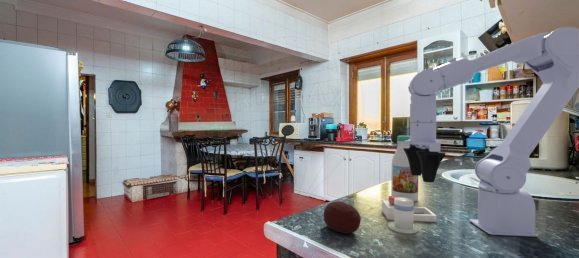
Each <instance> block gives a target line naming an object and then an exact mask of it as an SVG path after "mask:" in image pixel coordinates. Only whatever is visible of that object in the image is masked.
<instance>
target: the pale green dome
mask: <svg viewBox="0 0 579 258" xmlns="http://www.w3.org/2000/svg"><path fill="white" fill-rule="evenodd" d="M387 227H388V229H389V230H391V231H393V232H396V233H400V234H404V235H405V234H406V235H413V234H416V233H419V229H420V228H419V227H418V226H417V224H414V223H413V229H411V230H404V229H399V228H397V227H395V226H394V220H391V221H389V222H388V223H387Z"/></svg>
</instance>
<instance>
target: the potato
mask: <svg viewBox="0 0 579 258" xmlns="http://www.w3.org/2000/svg"><path fill="white" fill-rule="evenodd" d="M323 220H324V224H326V226H327V228H329V229H331V230H333V231H335V232H338V233H342V234H352V233H354V232H356V231H358V230H359V227H360V226H361V220H362V219H361V215H360V212H359V211H358V210H357V209H356V208H355V207H354V206H353V205H351V204H349V203H346V202H344V201H340V200H339V201H332V202H330V203H327V205H326V206H325V208H324V211H323Z"/></svg>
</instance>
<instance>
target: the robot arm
mask: <svg viewBox="0 0 579 258" xmlns="http://www.w3.org/2000/svg"><path fill="white" fill-rule="evenodd" d="M510 62H512V63H515V64H517V65H518V64H519V65H522V64H525V66H527V67H529V68H528V69H530V70H531V71H532V72H534V74H536V75H537V76H538V77H539V79H540V81H541V83H542V84H541V85H540V87H539V89H538V90H537V92H536V93H535V95H534V96H533V97H532V99H531V100H530V101H529V103H528V104H527V106H526V107H525V109H524V110H523V112H522V113H521V115H520V116H519V117H518V119H517V120H516V122H515V123H514V125H513V126H512V128H511V129H510V130H509V132H508V133H507V134H506V136H505V137H504V139H503V141H502V142H501V143H500V144H499V145H497V147H494V148H493V149H491V150H490V151H489V153H488V155H486V156H485V157H484V158H481V159H479V160H478V161H477V162H476V164H475V167H474V174H475V176H476V178H478V180H479V183H478V185H477V187H478V189H477V191H478V193H477V219H475V218H474V219H473V218H470V219H469V220H468V221H469V222H470V223H472V224H473V225H475V226H476V227H478V228H479V229H481V230H483V231H484V232H486V233H487V234H489V235H491V236H492V235H494V236H511V237H512V236H514V237H515V236H516V237H539V234H538V233H537V232H536V203H535V200H534V198H533V196H532V195H531V194H530V192H527V191H525V190H521V189H522V188H523V187H524V186H525V184H526V181H527V174H528V171H529V170H530V168H531V167H532V163H531V159H530V155H531V154H532V153H533V151H535V148H536V147H537V146H538V145H539V143H540V142H541V141H542V139H543V138H544V136H545V135H546V133H547V132H548V131H549V129H550V128H551V126H552V125H553V124H554V123H555V121H556V120H557V118H558V117H559V116H560V114H561V113H562V112H563V110H564V109H565V108H566V106H567V105H568V103H569V102H570V100H571V99H572V98H573V97H574V94H575V93H576V92H577V91H578V89H579V28H577V27H573V26H562V27H559V28H556V29H554V30H553V31H551V32H550V33H549V31H545V32H541V33H537V34H535V35H532V36H528V37H526V38H523V39H520V40H517V41H515V42H512V43H509V44H508V45H505V46H503V47H500V48H498V49H496V50H493V51H490V52H488V53H485V54H483V55H481V56H479V57H476V58H473V59H468V58H465V57H460V58H458V59H457V57H453V58H450V59H449V60H448V62H447V63H444V64H441V65H438V66H437V67H433V66H430V67H428V68H427V69H423V70H421V71H420V72H417V74H415V75H414V76H413V78H412V79H411V81H409V84H408V85H409V86H408V87H407V88H408V92H409V94H410V104H409V136H410V139H408V140H405V143H408V146H410V147H409V148H403V149H404V151H405V153H406V155H407V158H408V161H409V165H410V170H411V174H412V175H415V176H418V177H420V176H421V178H422V182H423V183H434V182H435V180H436V176H437V173H438V169H439V167H440V165H441V163H442V161H443V159H444V158H445V157H446V152H443V151H442V152H441V145H442V144H441V142H438V140H437V92H438V91H439V92H442V91H446V90H448V89H451V88H454V87H457V86H459V85H462V84H465V83H469V82H470V81H472V79H473V78H474V77H475V74H476V73H479V72H483V71H486V70H488V69H491V68H494V67H497V66H501V65H504V64H508V63H510Z"/></svg>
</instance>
